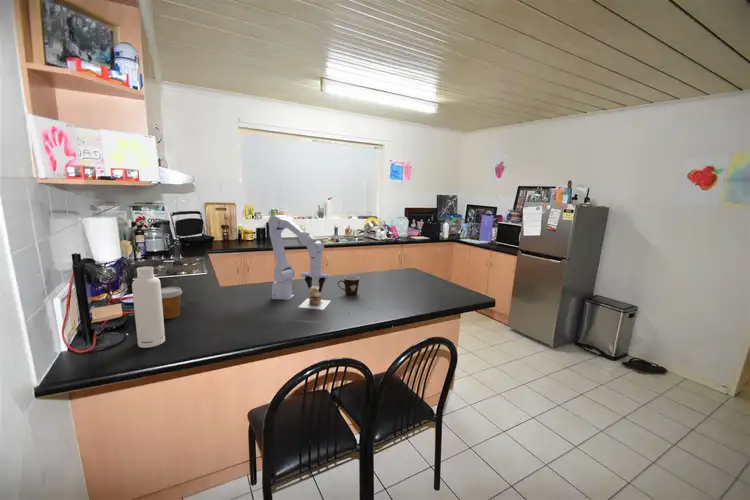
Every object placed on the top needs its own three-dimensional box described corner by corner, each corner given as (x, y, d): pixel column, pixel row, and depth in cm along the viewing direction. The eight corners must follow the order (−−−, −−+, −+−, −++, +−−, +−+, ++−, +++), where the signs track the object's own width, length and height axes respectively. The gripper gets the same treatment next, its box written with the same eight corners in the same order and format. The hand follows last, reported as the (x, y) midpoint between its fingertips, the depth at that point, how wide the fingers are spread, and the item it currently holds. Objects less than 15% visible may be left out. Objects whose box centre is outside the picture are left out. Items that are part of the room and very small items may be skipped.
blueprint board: (298, 308, 152) (298, 306, 152) (307, 299, 165) (307, 298, 165) (323, 310, 151) (323, 309, 150) (330, 301, 163) (331, 300, 163)
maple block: (309, 296, 155) (309, 288, 154) (312, 293, 159) (312, 285, 158) (317, 297, 154) (317, 289, 153) (320, 294, 158) (320, 286, 158)
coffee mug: (359, 293, 179) (360, 276, 177) (357, 298, 171) (358, 280, 169) (340, 291, 180) (340, 274, 178) (336, 296, 172) (337, 279, 170)
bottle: (133, 343, 112) (126, 268, 107) (158, 335, 119) (152, 264, 114) (144, 349, 108) (136, 272, 103) (169, 341, 115) (163, 268, 110)
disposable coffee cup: (188, 314, 139) (187, 288, 137) (168, 322, 130) (166, 294, 128) (173, 310, 142) (171, 285, 140) (152, 318, 133) (150, 291, 131)
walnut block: (309, 304, 156) (309, 297, 155) (312, 301, 160) (312, 294, 159) (318, 305, 155) (318, 298, 154) (320, 302, 160) (320, 295, 159)
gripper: (298, 265, 151) (298, 292, 153) (327, 268, 149) (326, 295, 152) (303, 262, 158) (303, 288, 160) (331, 265, 156) (330, 290, 158)
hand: (315, 291), depth 156 cm, fingers closed on maple block, 5 cm apart
